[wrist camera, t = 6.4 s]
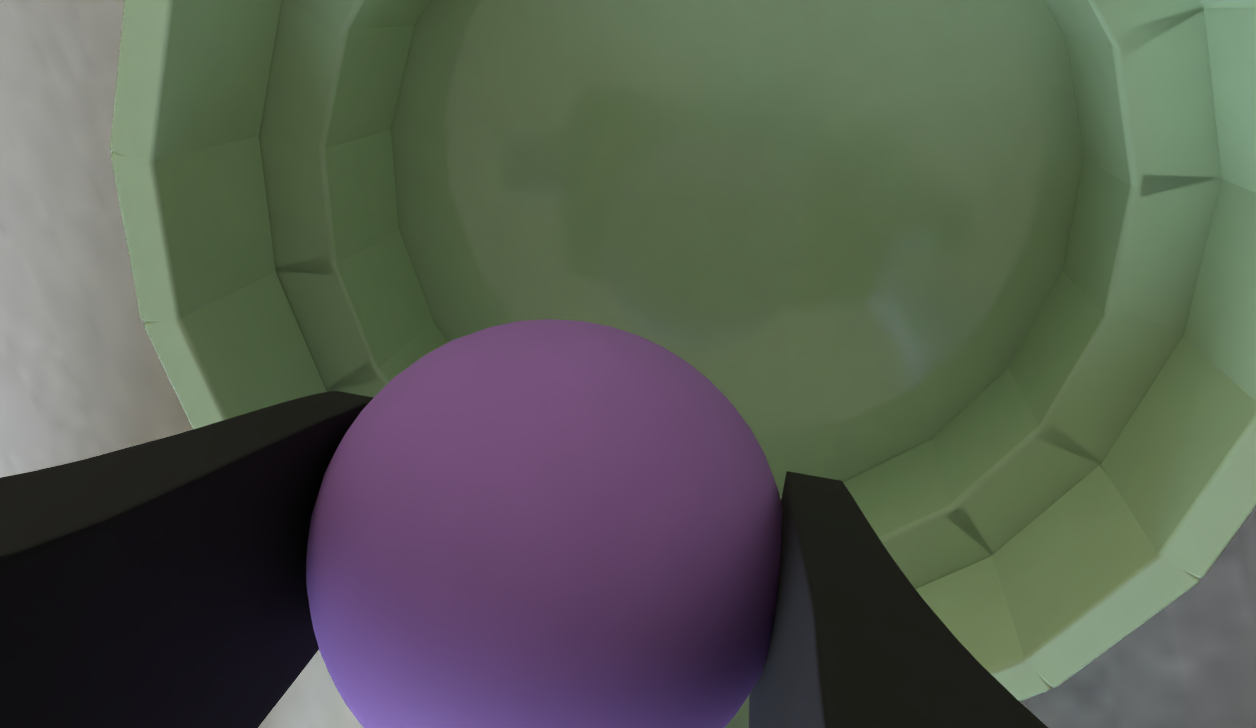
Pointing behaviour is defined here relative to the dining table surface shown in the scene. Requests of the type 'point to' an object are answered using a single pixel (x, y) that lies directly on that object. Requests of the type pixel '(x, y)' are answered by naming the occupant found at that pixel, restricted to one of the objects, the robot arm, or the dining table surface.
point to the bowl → (758, 249)
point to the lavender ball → (546, 540)
